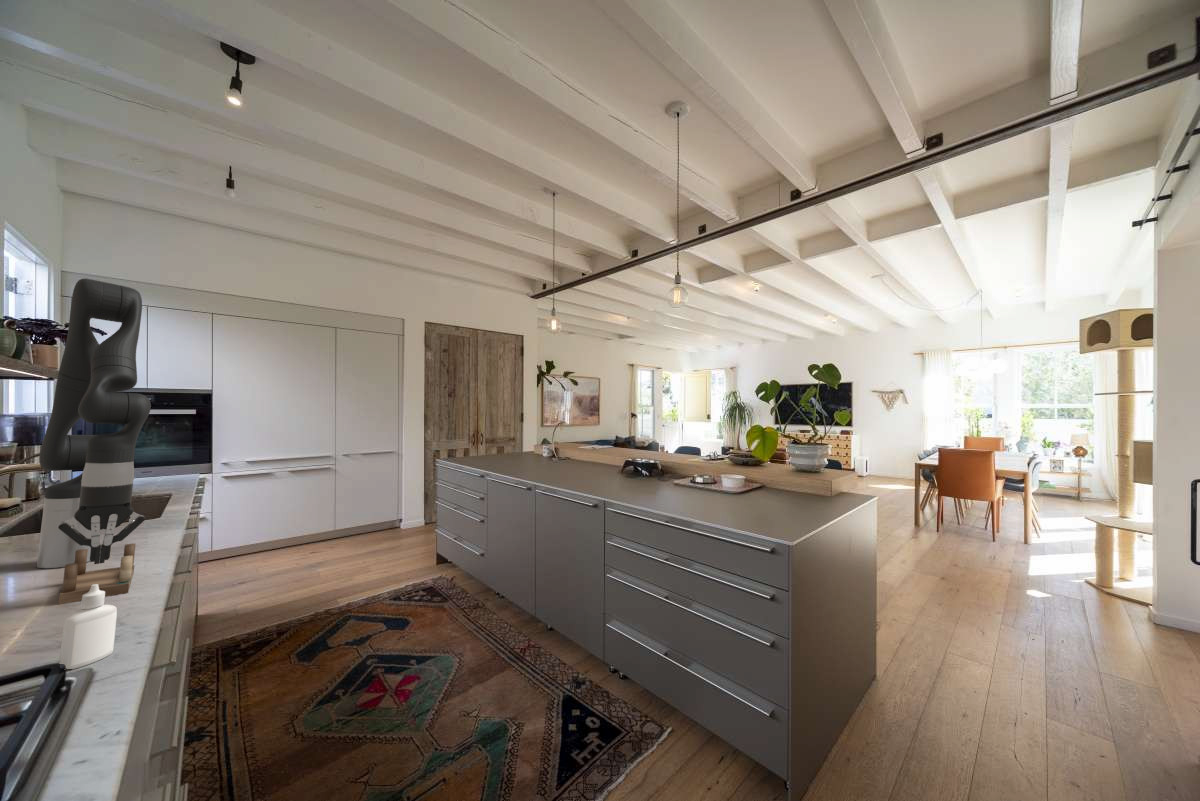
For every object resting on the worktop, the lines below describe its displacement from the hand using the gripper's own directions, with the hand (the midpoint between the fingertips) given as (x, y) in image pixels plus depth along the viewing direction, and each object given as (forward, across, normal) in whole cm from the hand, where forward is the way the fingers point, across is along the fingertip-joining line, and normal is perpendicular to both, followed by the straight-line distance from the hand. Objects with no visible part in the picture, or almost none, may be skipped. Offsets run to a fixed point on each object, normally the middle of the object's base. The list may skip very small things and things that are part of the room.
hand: (99, 562), depth 93 cm
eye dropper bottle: (+7, -1, -36) cm, 37 cm away
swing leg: (+5, +4, +4) cm, 7 cm away
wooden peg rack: (+7, 0, +6) cm, 9 cm away
